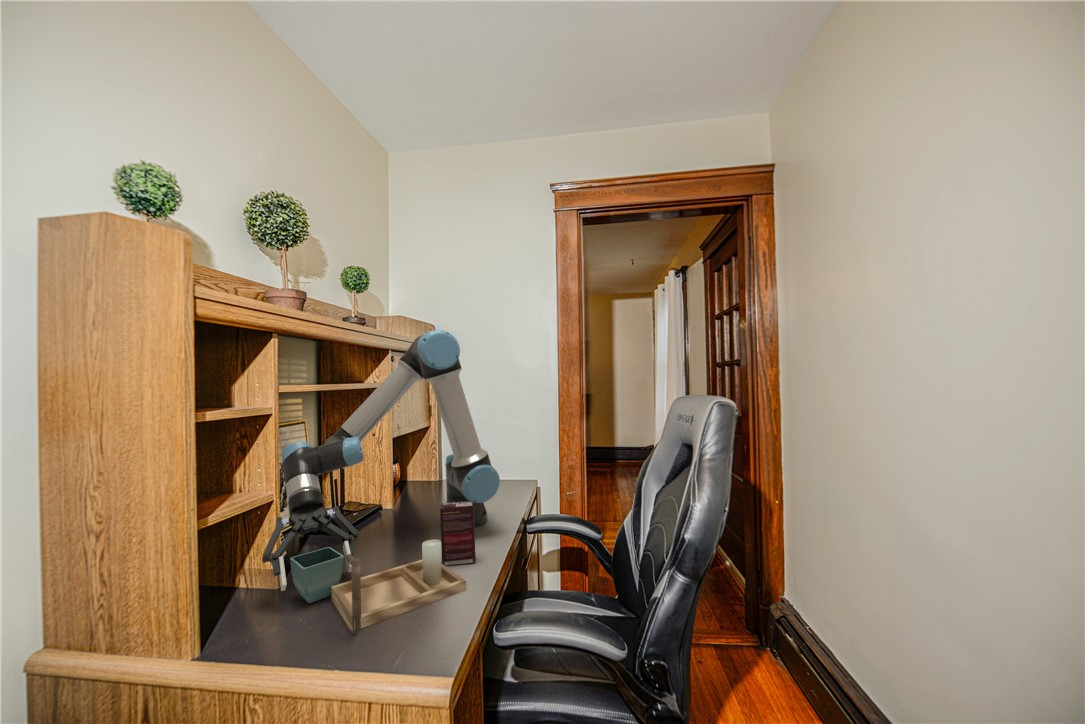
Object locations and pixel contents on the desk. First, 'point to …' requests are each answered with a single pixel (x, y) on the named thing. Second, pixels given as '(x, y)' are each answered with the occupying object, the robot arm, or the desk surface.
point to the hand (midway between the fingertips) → (318, 578)
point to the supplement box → (457, 533)
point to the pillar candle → (432, 562)
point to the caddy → (389, 592)
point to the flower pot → (316, 573)
